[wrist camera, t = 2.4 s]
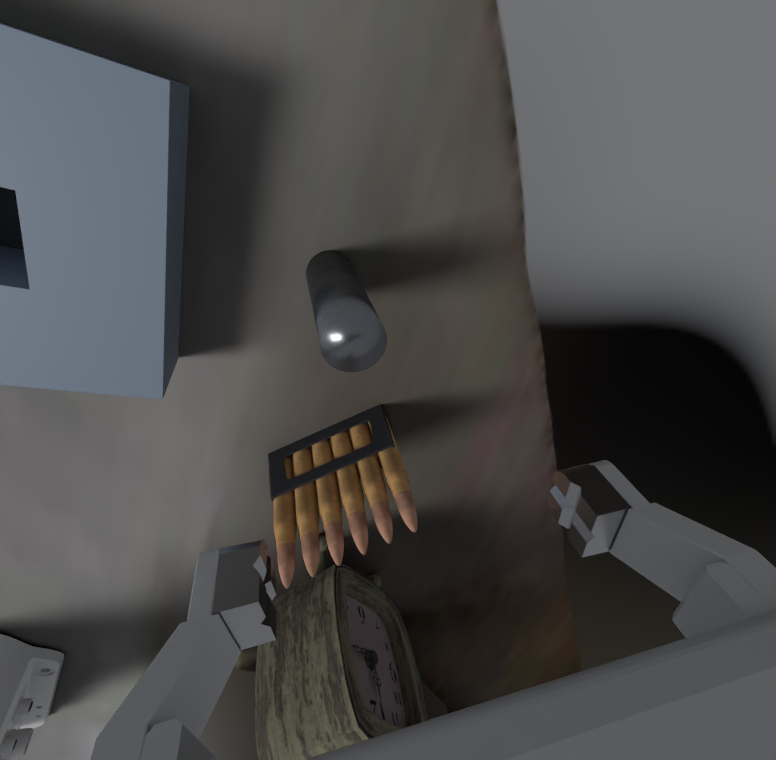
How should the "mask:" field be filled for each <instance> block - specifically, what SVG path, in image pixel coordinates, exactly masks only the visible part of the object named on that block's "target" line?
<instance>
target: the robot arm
mask: <svg viewBox="0 0 776 760" xmlns="http://www.w3.org/2000/svg"><path fill="white" fill-rule="evenodd" d="M552 481H553V482H554V483H555V486H554V487H553V488H552V489H551V490H550V492H549V497H548V501H549V506H550V510H551V512H552V514H553V516H554V518H555V519H556V521H557V522H558V523H559V524H560V525H562V526H564V527H566V528H567V529H568V538H569V540H570V541H571V542H572V544H573V546H574V547H575V548H576V550H577V551H578V553H579V554H580V556H581V557H586V556H591V555H595V554H599V553H603V552H608V551H610V553H611V554H612V555H614V556H615V557H617V558H618V559H620V560H621V561H622V562H624V563H625V564H627V565H628V566H630V567H631V568H633V569H634V570H636V571H637V572H638V573H640V574H641V575H643V576H644V577H646V578H647V579H649V580H650V581H652V582H653V583H654V584H656V585H658V586H659V587H660V588H662V589H663V590H665V591H666V592H668V593H669V594H670V595H672V596H673V597H675V598H676V599H678V600H679V601H681V604H680V605H679V606H678V608H677V609H676V611H675V612H674V614H673V619H672V620H673V621H674V623H675V624H676V626H677V627H678V628H679V629H680V631H681V632H682V633H683V635H684V636H685V637H686V639H683V640H680V641H676V642H673V643H670V644H667V645H664V646H661V647H657V648H654V649H651V650H648V651H645V652H642V653H639V654H635V655H632V656H629V657H626V658H623V659H620V660H616V661H613V662H611V663H607V664H604V665H601V666H598V667H595V668H591V669H589V670H585V671H582V672H579V673H576V674H572V675H569V676H566V677H563V678H560V679H557V680H554V681H550V682H547V683H544V684H541V685H538V686H535V687H532V688H528V689H525V690H522V691H519V692H516V693H513V694H510V695H506V696H503V697H500V698H497V699H494V700H491V701H487V702H484V703H481V704H478V705H475V706H472V707H469V708H465V709H462V710H459V711H456V712H453V713H450V714H447V715H443V716H441V717H437V718H434V719H431V720H428V721H425V722H421V723H418V724H415V725H412V726H409V727H406V728H403V729H399V730H396V731H393V732H390V733H387V734H384V735H380V736H377V737H374V738H371V739H368V740H365V741H362V742H358V743H355V744H352V745H349V746H346V747H343V748H340V749H336V750H333V751H330V752H327V753H324V754H321V755H318V756H314V757H311V758H308V759H305V760H776V568H775V567H774V566H773V565H771V564H770V563H769V562H768V561H767V560H766V559H765V558H764V557H763V556H762V555H761V554H760V553H758V552H757V551H756V550H755V549H752V548H750V547H748V546H746V545H744V544H742V543H740V542H737V541H735V540H733V539H731V538H729V537H727V536H725V535H723V534H720V533H718V532H716V531H714V530H712V529H710V528H707V527H705V526H703V525H701V524H699V523H697V522H695V521H693V520H691V519H688V518H686V517H684V516H682V515H680V514H678V513H676V512H674V511H671V510H669V509H667V508H665V507H663V506H661V505H659V504H657V503H652V504H650V503H649V502H648V501H647V500H646V499H645V498H644V497H643V496H642V495H641V494H640V493H639V492H638V490H637V489H636V488H635V487H634V486H632V484H631V483H630V482H629V481H628V480H627V479H626V478H625V477H624V476H623V475H622V474H621V473H620V472H619V471H618V470H617V469H616V467H615V466H614V465H613V464H612V463H610V462H608V461H606V460H605V461H600V462H596V463H592V464H585V465H581V466H577V467H573V468H569V469H565V470H561V471H557V472H556V473H555V474H554V477H553V480H552ZM275 595H276V578H275V570H274V566H273V562H272V559H271V557H269V556H267V546H266V544H265V542H264V540H259V541H255V542H250V543H245V544H240V545H236V546H231V547H226V548H221V549H216V550H212V551H207V552H203V553H200V555H199V558H198V560H197V564H196V570H195V576H194V581H193V587H192V593H191V599H190V605H189V610H188V616H187V621H186V622H183V623H180V624H179V625H178V627H177V628H176V630H175V631H174V632H173V634H172V635H171V636H170V638H169V639H168V641H167V642H166V643H165V645H164V646H163V647H162V649H161V650H160V652H159V653H158V654H157V656H156V657H155V659H154V660H153V661H152V663H151V664H150V665H149V667H148V668H147V670H146V671H145V672H144V674H143V675H142V677H141V678H140V679H139V681H138V682H137V683H136V685H135V686H134V688H133V689H132V690H131V692H130V693H129V694H128V696H127V697H126V699H125V700H124V701H123V703H122V704H121V706H120V707H119V708H118V710H117V711H116V712H115V714H114V715H113V717H112V718H111V719H110V721H109V722H108V723H107V725H106V726H105V728H104V729H103V730H102V732H101V733H100V735H99V736H98V737H97V739H96V742H95V746H94V749H93V753H92V756H91V760H218V759H217V758H216V757H215V756H214V755H213V754H212V753H211V752H210V751H209V750H208V749H207V748H206V747H205V746H204V745H203V744H202V743H201V742H200V741H199V740H198V738H199V737H200V735H201V733H202V730H203V728H204V726H205V724H206V723H207V720H208V719H209V717H210V715H211V713H212V710H213V709H214V706H215V705H216V702H217V701H218V698H219V696H220V694H221V692H222V690H223V688H224V686H225V684H226V682H227V680H228V678H229V676H230V674H231V672H232V670H233V668H234V666H235V664H236V662H237V660H238V658H239V656H240V654H241V651H240V650H244V649H247V648H250V647H254V646H257V645H261V644H264V643H267V642H271V641H274V640H276V610H275V608H274V605H273V603H272V600H273V599H274V597H275ZM63 660H64V654H63V653H61V652H59V651H55V650H50V649H45V648H39V647H34V646H30V645H28V644H25V643H23V642H21V641H19V640H17V639H14V638H12V637H9V636H6V635H2V634H0V760H7V759H13V758H21V757H23V756H24V755H25V753H26V750H27V748H28V745H29V742H30V739H31V736H32V733H33V729H34V728H36V727H39V726H41V725H43V724H44V723H45V721H46V719H47V717H48V715H49V713H50V709H51V706H52V702H53V698H54V694H55V691H56V687H57V683H58V679H59V675H60V672H61V668H62V664H63Z"/></svg>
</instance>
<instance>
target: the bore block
mask: <svg viewBox="0 0 776 760" xmlns="http://www.w3.org/2000/svg"><path fill="white" fill-rule="evenodd" d="M189 98H190V86H188V85H185V84H182V83H179V82H176V81H173V80H170V79H167V78H164V77H161V76H158V75H155V74H152V73H149V72H146V71H143V70H140V69H137V68H134V67H131V66H128V65H125V64H122V63H119V62H116V61H113V60H110V59H107V58H104V57H101V56H98V55H95V54H92V53H89V52H86V51H83V50H80V49H77V48H74V47H71V46H68V45H65V44H63V43H60V42H57V41H54V40H51V39H48V38H45V37H42V36H39V35H36V34H33V33H30V32H27V31H24V30H21V29H18V28H15V27H12V26H9V25H6V24H3V23H0V187H3V188H7V189H11V190H15V192H16V199H17V206H18V213H19V220H20V227H21V233H22V240H23V247H24V250H23V249H18V248H12V247H7V246H2V245H0V385H10V386H21V387H32V388H43V389H54V390H65V391H76V392H87V393H97V394H108V395H119V396H130V397H141V398H152V399H163V397H164V394H165V392H166V389H167V386H168V384H169V381H170V378H171V376H172V373H173V371H174V368H175V365H176V363H177V360H178V354H179V331H180V307H181V284H182V261H183V238H184V214H185V191H186V168H187V145H188V121H189Z"/></svg>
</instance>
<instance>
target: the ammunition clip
mask: <svg viewBox="0 0 776 760" xmlns="http://www.w3.org/2000/svg"><path fill="white" fill-rule="evenodd" d="M371 436H372V437H371ZM372 438H373V440H372ZM352 445H353V447H352ZM353 449H354V451H353ZM376 453H377V454H378V458H377V454H376ZM268 459H269V478H270V497H271V500H272V501H274V535H275V539H276V548H277V561H278V569H279V573H280V577H281V580H282V583H283V585H284V586H285V588H286V589H288V588H289V586H290V584H291V582H292V578H293V574H294V567H295V537H296V531H297V525H298V528H299V532H300V540H301V547H302V554H303V559H304V562H305V565H306V568H307V570H308V572H309V574H310V576H311V577H314V576H315V575H316V572H317V568H318V562H319V529H318V526H319V511H320V515H321V517H322V520H323V525H324V530H325V535H326V540H327V544H328V548H329V551H330V554H331V556H332V558H333V560H334V562H335V563H336V565H337V566H340V565H341V562H342V559H343V551H344V536H343V528H342V517H341V516H342V504H343V506H344V508H345V511H346V515H347V519H348V522H349V526H350V530H351V533H352V537H353V539H354V542H355V544H356V546H357V548H358V549H359V551H360V552H361V553H362V554H363V555H365V554H366V552H367V547H368V528H367V522H366V517H365V516H366V515H365V509H364V495H363V490H364V493H365V496H366V498H367V500H368V501H369V504H370V508H371V511H372V513H373V517H374V520H375V523H376V525H377V528H378V530H379V532H380V534H381V535H382V537H383V539H384V540H385V541H386V542H387V543H388V544H390V543H391V541H392V535H393V527H392V519H391V513H390V510H389V504H388V500H387V492H386V485H385V482H384V478H383V475H382V471H381V468H382V470H383V473H384V476H385V480H386V483H387V485H388V487H389V489H390V490H391V492H392V495H393V497H394V500H395V501H396V504H397V507H398V510H399V512H400V515H401V517H402V519H403V520H404V522H405V523H406V525H407V526H408V528H409V529H410V530H411V531H412V532H414V533H415V532H416V531H417V513H416V508H415V504H414V500H413V497H412V493H411V490H410V487H409V479H408V475H407V472H406V469H405V466H404V464H403V461H402V458H401V455H400V452H399V450H398V447H397V443H396V440H395V436H394V433H393V430H392V426H391V423H390V419H389V417H388V415H387V413H386V411H385V409H384V407H383V405H377V406H375V407H373V408H371V409H368V410H366V411H364V412H362V413H359V414H357V415H355V416H353V417H350V418H348V419H346V420H343V421H341V422H339V423H337V424H334V425H332V426H330V427H328V428H325V429H323V430H321V431H319V432H316V433H314V434H312V435H310V436H307V437H305V438H303V439H301V440H298V441H296V442H294V443H292V444H289V445H287V446H285V447H283V448H280V449H278V450H276V451H273V452H271V453H269V455H268ZM356 462H357V464H356ZM357 465H358V467H357ZM336 473H337V474H336ZM360 478H361V482H362V486H363V490H362V486H361V482H360ZM339 490H340V492H339ZM340 495H341V498H340ZM317 496H318V499H317ZM341 500H342V504H341ZM318 504H319V508H318Z"/></svg>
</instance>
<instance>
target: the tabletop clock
mask: <svg viewBox="0 0 776 760" xmlns="http://www.w3.org/2000/svg"><path fill="white" fill-rule="evenodd" d="M327 548H328V544H327V540H326V536H324V535H319V562H318V568H317V573H316V576H314V577H311V578H309V580H307V581H306V582H304V583H302V584H300V585H299V586H297V587H295V588H293V589H292V590H290V591H288V592H287V593H285V594H283V595H281V596H280V597H278V598H276V599H275V600H273V602H272V603H273V605H274V608H275V610H276V640H274V641H271V642H267V643H264V644H261V645H258V647H257V663H256V680H255V718H256V719H255V724H256V725H255V729H256V743H257V753H258V758H259V760H305V759H308V758H311V757H314V756H318V755H321V754H324V753H327V752H330V751H333V750H336V749H340V748H343V747H346V746H349V745H352V744H355V743H358V742H362V741H365V740H368V739H371V738H374V737H377V736H380V735H384V734H387V733H390V732H393V731H396V730H399V729H403V728H406V727H409V726H412V725H415V724H418V723H421V722H425V721H428V720H430V719H429V714H428V709H427V704H426V700H425V696H424V692H423V688H422V683H421V679H420V674H419V670H418V667H417V663H416V660H415V656H414V653H413V649H412V646H411V642H410V639H409V636H408V633H407V630H406V627H405V624H404V621H403V618H402V616H401V613H400V611H399V608H398V606H397V605H396V604H395V602H394V601H393V600H392V599H391V598H390V596H389V595H388V594H387V593H385V592H384V591H383V590H382V589H381V588H380V586H381V578H380V577H379V575H377V574H372V575H371V576H370V577H369V578H367V577H366V576H364V575H362V574H360V573H359V572H357V571H355V570H354V569H352V568H350V567H348V566H347V565H343V564H341V565H340V566H337V565H336V564H335V565H333V566H331V567H330V568H328V569H325V559H324V551H325V550H326V549H327Z"/></svg>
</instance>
